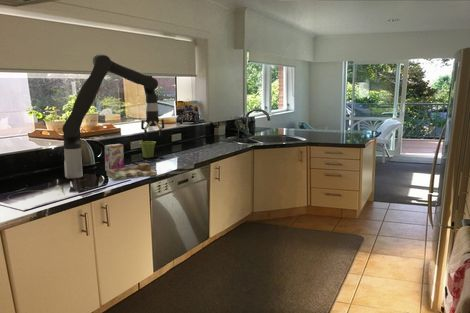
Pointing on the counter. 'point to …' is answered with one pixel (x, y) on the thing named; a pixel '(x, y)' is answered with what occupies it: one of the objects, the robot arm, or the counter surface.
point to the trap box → (128, 173)
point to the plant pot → (148, 148)
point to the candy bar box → (114, 156)
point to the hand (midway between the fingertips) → (153, 135)
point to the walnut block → (144, 166)
